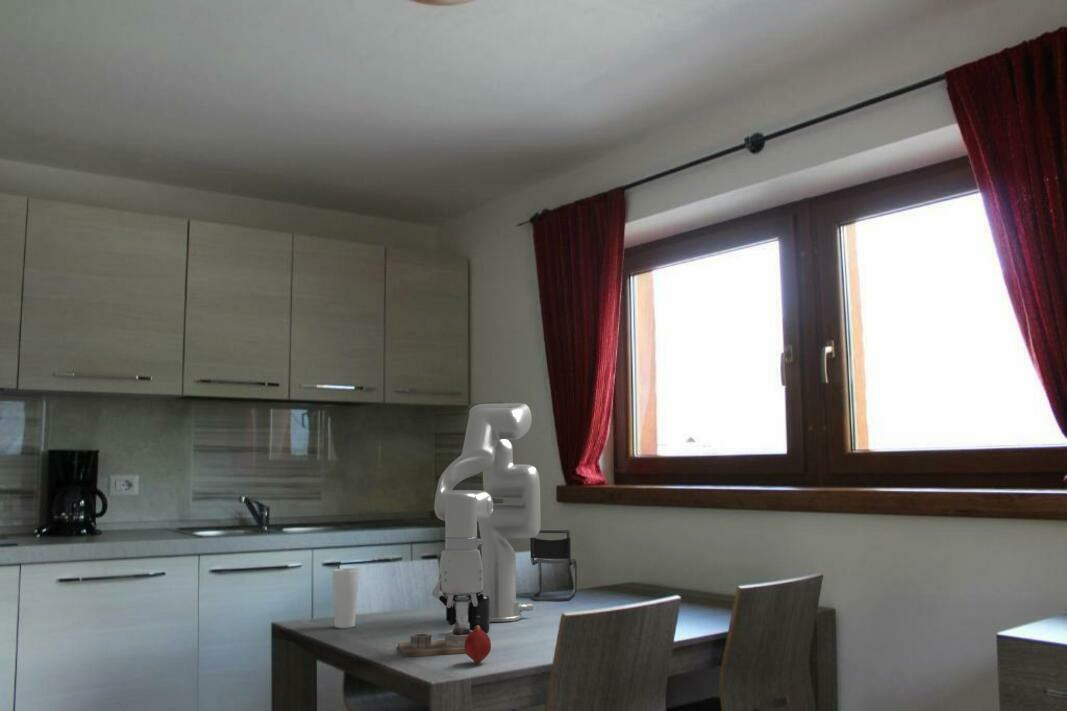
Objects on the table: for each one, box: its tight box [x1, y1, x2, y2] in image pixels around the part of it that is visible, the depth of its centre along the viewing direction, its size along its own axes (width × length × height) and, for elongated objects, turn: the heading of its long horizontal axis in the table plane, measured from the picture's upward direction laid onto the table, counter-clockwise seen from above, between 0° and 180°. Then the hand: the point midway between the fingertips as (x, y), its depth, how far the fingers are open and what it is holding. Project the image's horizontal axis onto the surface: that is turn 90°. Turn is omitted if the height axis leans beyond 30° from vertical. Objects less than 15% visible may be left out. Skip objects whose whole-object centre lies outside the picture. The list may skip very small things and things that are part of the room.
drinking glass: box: [332, 567, 359, 629], centre depth 248 cm, size 7×7×15 cm
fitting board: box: [397, 630, 472, 658], centre depth 217 cm, size 19×12×4 cm, turn 105°
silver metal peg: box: [452, 594, 471, 635], centre depth 219 cm, size 4×4×10 cm
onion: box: [464, 626, 492, 664], centre depth 202 cm, size 6×6×8 cm
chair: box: [529, 529, 578, 602], centre depth 299 cm, size 13×17×22 cm
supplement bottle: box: [470, 590, 491, 634], centre depth 239 cm, size 7×7×12 cm
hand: (461, 622), depth 219 cm, fingers open, 4 cm apart
